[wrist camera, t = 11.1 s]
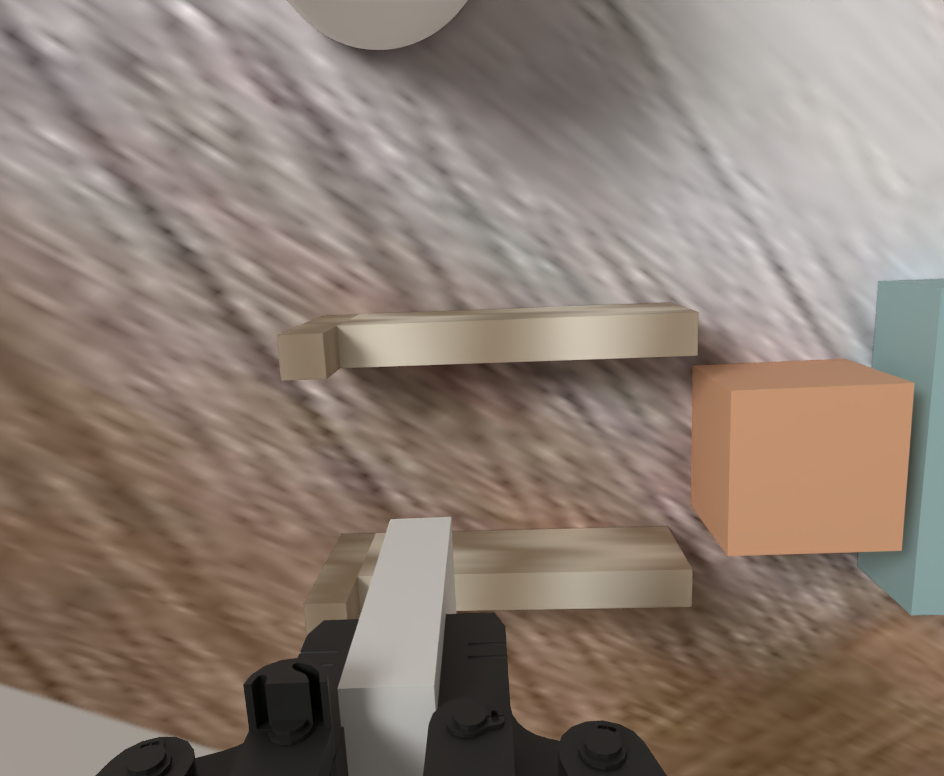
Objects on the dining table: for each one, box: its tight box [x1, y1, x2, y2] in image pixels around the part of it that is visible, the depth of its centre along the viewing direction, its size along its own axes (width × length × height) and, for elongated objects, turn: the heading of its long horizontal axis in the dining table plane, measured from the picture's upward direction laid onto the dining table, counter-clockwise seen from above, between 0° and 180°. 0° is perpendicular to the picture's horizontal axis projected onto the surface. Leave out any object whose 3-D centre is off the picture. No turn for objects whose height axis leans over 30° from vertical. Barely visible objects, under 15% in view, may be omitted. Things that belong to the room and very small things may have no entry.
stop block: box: [857, 279, 944, 615], centre depth 27 cm, size 3×12×4 cm, turn 2°
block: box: [691, 359, 915, 556], centre depth 27 cm, size 6×6×5 cm
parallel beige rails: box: [277, 302, 699, 635], centre depth 26 cm, size 14×11×6 cm
